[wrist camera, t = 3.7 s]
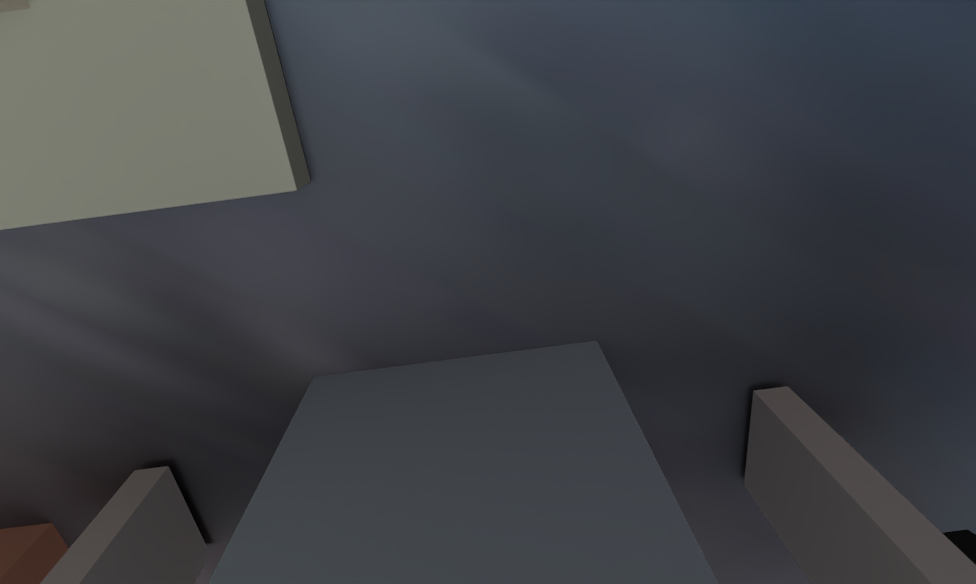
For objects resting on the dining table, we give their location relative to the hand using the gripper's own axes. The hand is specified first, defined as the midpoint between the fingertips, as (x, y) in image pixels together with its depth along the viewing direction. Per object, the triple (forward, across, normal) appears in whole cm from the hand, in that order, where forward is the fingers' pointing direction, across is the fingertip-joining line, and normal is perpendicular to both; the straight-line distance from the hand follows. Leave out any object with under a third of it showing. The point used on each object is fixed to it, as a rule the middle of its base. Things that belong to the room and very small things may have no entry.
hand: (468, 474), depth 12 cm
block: (0, 0, 0) cm, 0 cm away
